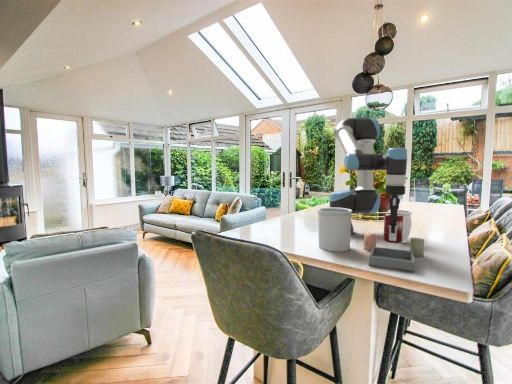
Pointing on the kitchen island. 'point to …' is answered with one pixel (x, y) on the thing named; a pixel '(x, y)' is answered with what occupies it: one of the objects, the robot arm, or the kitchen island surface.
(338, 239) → the utensil holder
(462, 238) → the kitchen island surface
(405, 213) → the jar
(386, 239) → the soda can
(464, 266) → the kitchen island surface
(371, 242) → the peach glossy rounded knob
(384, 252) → the tray
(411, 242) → the sage green capsule
